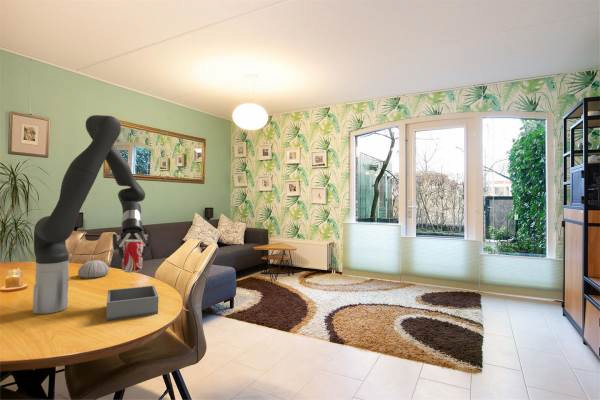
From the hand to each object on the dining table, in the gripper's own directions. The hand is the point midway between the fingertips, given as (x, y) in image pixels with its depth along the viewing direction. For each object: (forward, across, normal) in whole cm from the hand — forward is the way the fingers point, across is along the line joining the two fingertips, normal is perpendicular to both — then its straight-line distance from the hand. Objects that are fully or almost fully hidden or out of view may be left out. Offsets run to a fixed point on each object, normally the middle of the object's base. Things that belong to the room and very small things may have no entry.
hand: (132, 256), depth 120 cm
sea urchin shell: (-24, -14, +50) cm, 57 cm away
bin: (+18, 0, +7) cm, 20 cm away
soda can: (+3, 0, +6) cm, 6 cm away
